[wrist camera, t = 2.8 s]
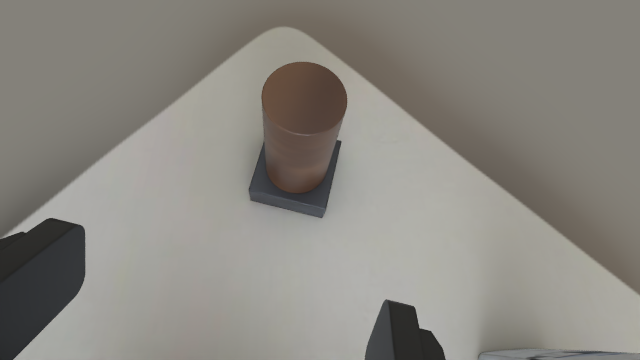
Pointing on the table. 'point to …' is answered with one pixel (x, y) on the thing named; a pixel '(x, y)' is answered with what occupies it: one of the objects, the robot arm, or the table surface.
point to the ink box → (556, 355)
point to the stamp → (299, 138)
